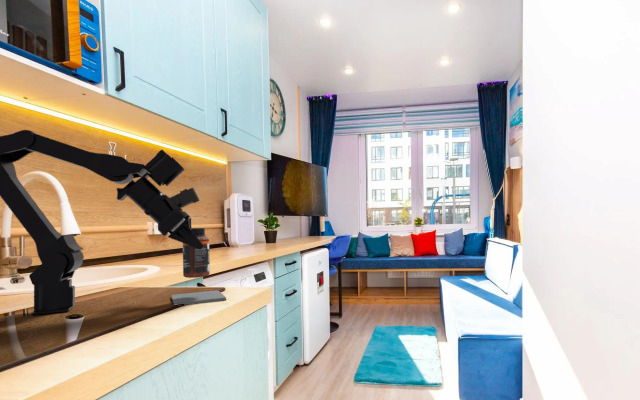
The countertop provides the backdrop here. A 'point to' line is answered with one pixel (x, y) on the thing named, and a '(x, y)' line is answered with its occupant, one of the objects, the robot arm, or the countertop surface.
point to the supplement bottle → (196, 257)
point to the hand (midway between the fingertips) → (202, 247)
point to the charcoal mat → (198, 297)
